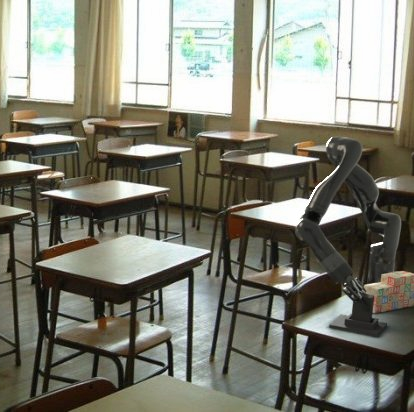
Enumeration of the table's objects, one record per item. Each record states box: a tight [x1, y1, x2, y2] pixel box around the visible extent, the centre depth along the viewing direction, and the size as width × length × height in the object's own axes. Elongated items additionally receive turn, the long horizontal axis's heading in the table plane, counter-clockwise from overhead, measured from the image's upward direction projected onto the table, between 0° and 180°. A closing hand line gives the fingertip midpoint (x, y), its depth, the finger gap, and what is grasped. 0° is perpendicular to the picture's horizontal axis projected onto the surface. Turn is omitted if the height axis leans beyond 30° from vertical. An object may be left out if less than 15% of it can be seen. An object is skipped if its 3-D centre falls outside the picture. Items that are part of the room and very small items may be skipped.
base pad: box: [328, 313, 388, 338], centre depth 299 cm, size 14×16×3 cm
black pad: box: [351, 293, 374, 323], centre depth 297 cm, size 4×6×9 cm, turn 57°
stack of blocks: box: [363, 270, 414, 314], centre depth 321 cm, size 21×6×12 cm, turn 121°
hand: (368, 307), depth 296 cm, fingers closed on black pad, 4 cm apart
